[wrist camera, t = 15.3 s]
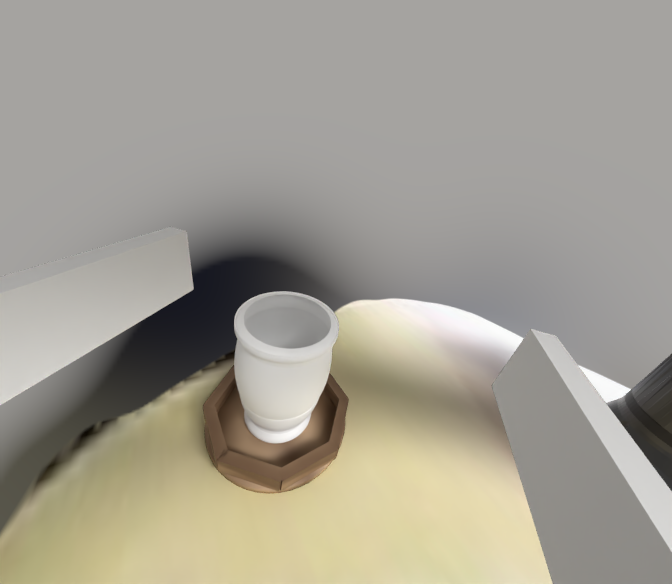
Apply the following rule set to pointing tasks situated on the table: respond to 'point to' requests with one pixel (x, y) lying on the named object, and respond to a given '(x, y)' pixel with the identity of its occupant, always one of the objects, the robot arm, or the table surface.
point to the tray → (272, 458)
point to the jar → (282, 361)
